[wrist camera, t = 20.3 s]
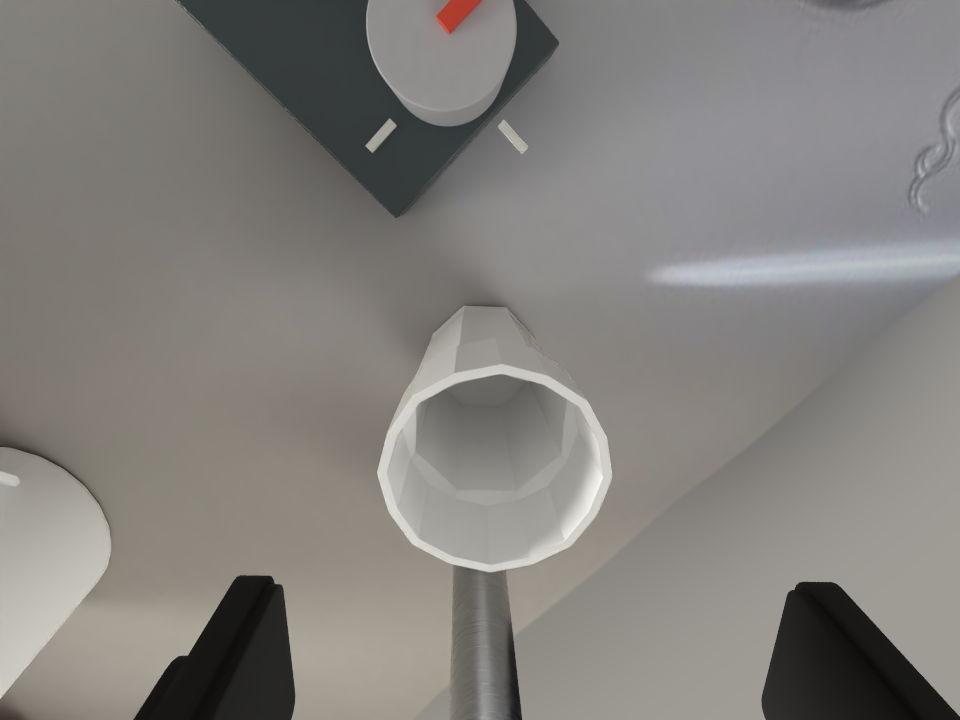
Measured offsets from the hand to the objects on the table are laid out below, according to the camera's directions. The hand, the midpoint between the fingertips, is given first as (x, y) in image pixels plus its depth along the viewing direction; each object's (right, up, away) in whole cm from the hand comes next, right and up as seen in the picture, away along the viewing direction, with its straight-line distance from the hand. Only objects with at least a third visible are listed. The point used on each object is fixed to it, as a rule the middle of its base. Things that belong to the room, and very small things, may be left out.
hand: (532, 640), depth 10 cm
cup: (-1, +5, +16) cm, 17 cm away
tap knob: (-2, +16, +10) cm, 19 cm away
